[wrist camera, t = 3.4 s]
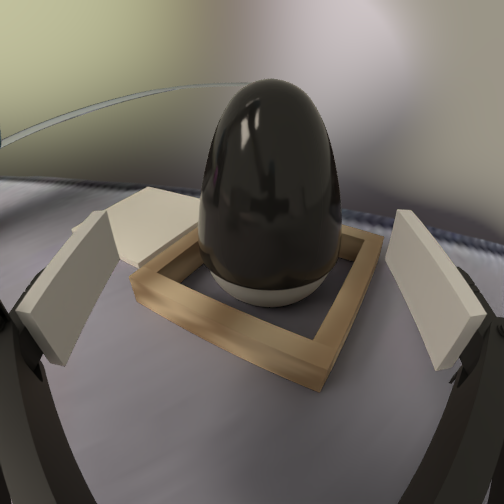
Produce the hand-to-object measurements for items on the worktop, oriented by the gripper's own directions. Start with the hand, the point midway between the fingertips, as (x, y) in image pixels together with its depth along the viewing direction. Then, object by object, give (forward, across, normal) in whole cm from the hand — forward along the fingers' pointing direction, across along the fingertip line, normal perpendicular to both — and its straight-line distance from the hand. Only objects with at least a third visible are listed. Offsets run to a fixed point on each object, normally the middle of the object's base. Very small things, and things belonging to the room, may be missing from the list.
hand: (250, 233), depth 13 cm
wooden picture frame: (+8, +1, -9) cm, 12 cm away
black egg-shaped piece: (+8, +1, -9) cm, 12 cm away
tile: (+18, -13, -9) cm, 24 cm away
